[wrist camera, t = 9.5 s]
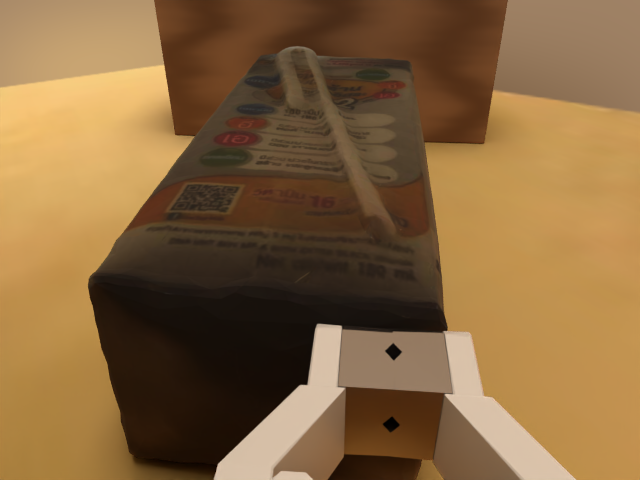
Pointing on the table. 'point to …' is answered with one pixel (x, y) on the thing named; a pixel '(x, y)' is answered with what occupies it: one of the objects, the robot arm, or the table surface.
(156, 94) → the table surface
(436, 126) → the display block
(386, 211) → the beverage carton
